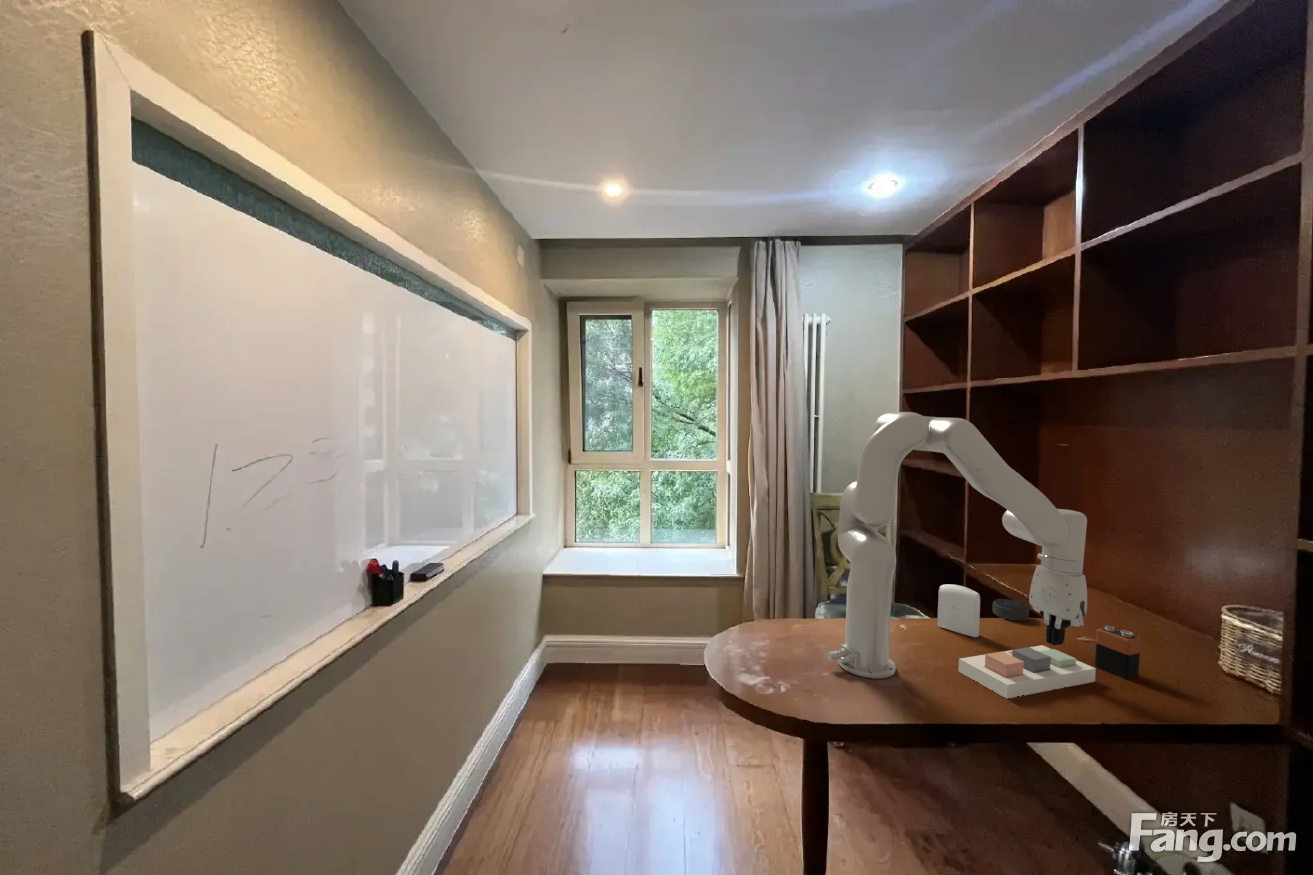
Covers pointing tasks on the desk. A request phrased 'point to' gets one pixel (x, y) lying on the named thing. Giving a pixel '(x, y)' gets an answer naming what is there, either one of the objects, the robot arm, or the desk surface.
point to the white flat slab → (1026, 676)
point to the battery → (1117, 652)
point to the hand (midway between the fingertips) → (1054, 643)
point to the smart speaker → (1010, 610)
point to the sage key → (1059, 658)
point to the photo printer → (959, 609)
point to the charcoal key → (1032, 659)
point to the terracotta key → (1004, 664)
